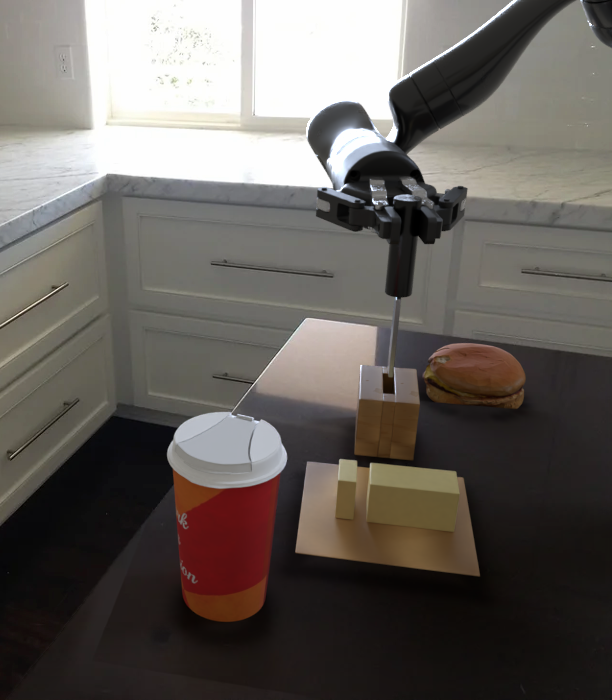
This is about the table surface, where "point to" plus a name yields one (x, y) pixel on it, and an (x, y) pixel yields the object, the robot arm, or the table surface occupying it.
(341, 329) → the table surface
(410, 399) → the knife block
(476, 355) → the burger
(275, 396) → the table surface
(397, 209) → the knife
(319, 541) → the board
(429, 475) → the butter
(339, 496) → the butter pat
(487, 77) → the robot arm
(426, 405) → the table surface
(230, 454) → the paper cup
